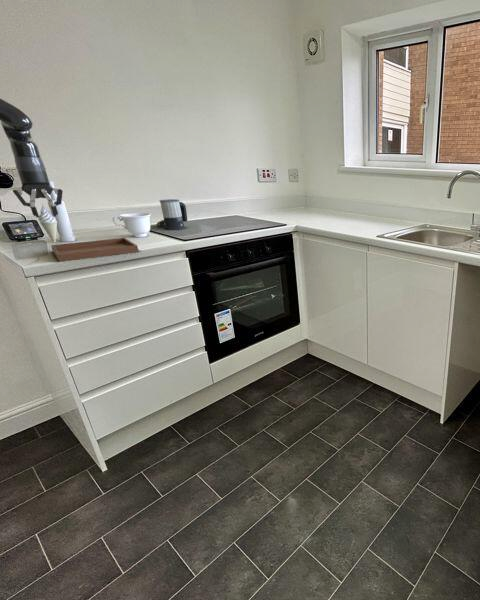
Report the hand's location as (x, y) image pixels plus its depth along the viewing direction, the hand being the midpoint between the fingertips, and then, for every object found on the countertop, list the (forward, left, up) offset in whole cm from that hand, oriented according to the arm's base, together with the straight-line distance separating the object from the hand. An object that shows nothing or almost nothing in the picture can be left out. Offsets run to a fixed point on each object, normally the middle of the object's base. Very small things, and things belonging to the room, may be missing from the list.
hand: (46, 216), depth 136 cm
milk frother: (+48, +26, -13) cm, 56 cm away
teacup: (+29, +10, -13) cm, 33 cm away
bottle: (+5, +16, -13) cm, 21 cm away
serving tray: (+10, -15, -13) cm, 22 cm away
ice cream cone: (0, 0, -10) cm, 10 cm away
